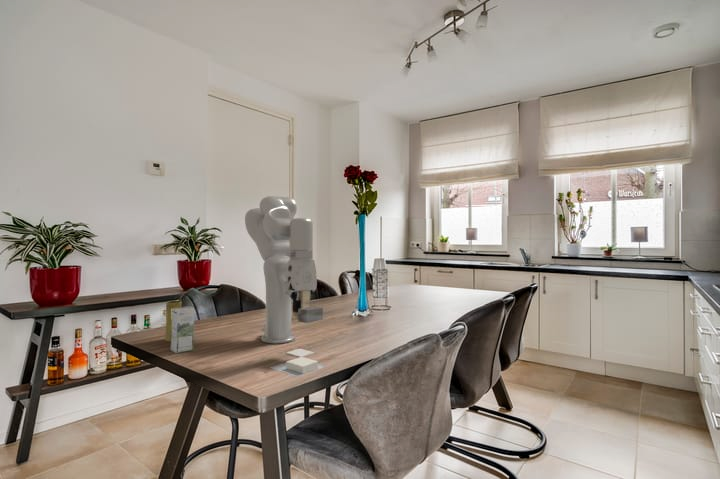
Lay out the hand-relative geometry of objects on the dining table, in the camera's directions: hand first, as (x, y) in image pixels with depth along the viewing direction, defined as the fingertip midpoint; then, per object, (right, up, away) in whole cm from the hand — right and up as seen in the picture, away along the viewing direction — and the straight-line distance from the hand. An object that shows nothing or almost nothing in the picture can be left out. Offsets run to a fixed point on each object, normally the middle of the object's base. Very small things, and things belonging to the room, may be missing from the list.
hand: (301, 310), depth 127 cm
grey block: (+2, -3, -1) cm, 3 cm away
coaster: (0, -14, 0) cm, 14 cm away
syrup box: (-41, -14, +4) cm, 43 cm away
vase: (-50, -14, +17) cm, 55 cm away
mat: (+1, -14, -13) cm, 20 cm away
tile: (0, -13, -12) cm, 18 cm away
